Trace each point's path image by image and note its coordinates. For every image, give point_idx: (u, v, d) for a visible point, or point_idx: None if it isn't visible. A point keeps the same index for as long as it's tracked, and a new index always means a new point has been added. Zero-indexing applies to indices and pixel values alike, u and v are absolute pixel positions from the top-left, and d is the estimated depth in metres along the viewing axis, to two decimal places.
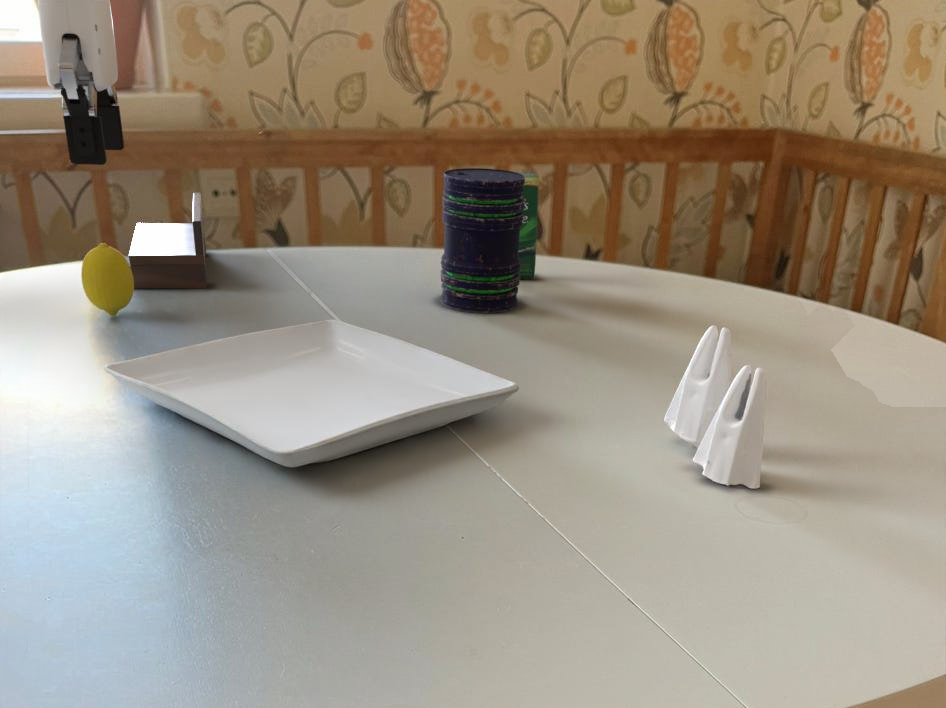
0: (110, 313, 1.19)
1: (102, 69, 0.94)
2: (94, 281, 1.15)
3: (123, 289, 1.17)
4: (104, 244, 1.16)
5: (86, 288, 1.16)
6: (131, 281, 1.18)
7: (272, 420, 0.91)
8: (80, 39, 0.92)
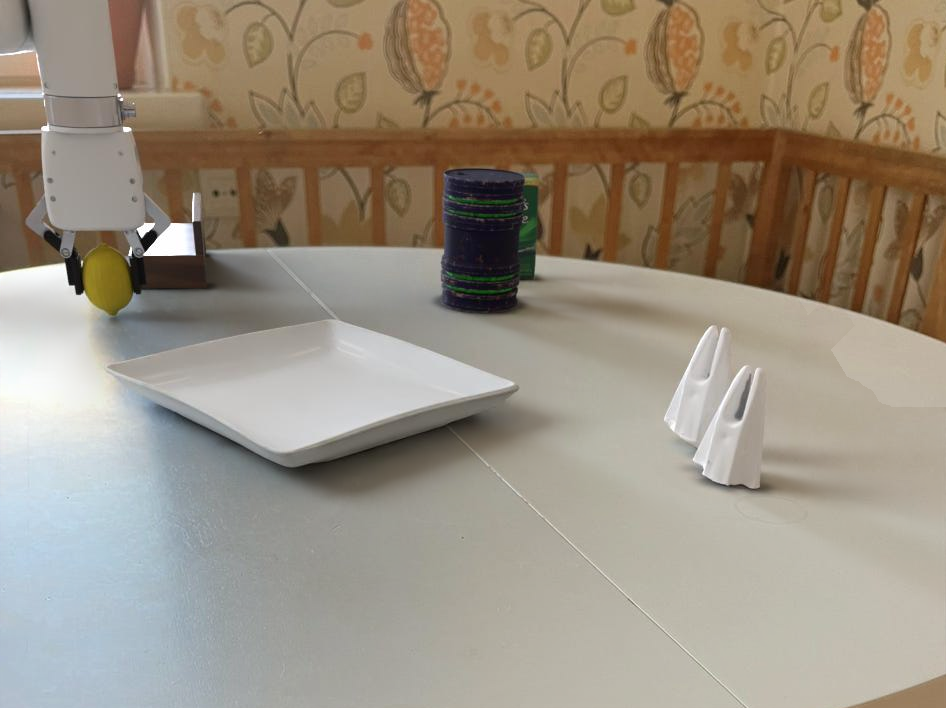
0: (110, 313, 1.19)
1: (59, 213, 1.11)
2: (94, 281, 1.15)
3: (123, 289, 1.17)
4: (104, 244, 1.16)
5: (86, 288, 1.16)
6: (131, 281, 1.18)
7: (272, 420, 0.91)
8: None
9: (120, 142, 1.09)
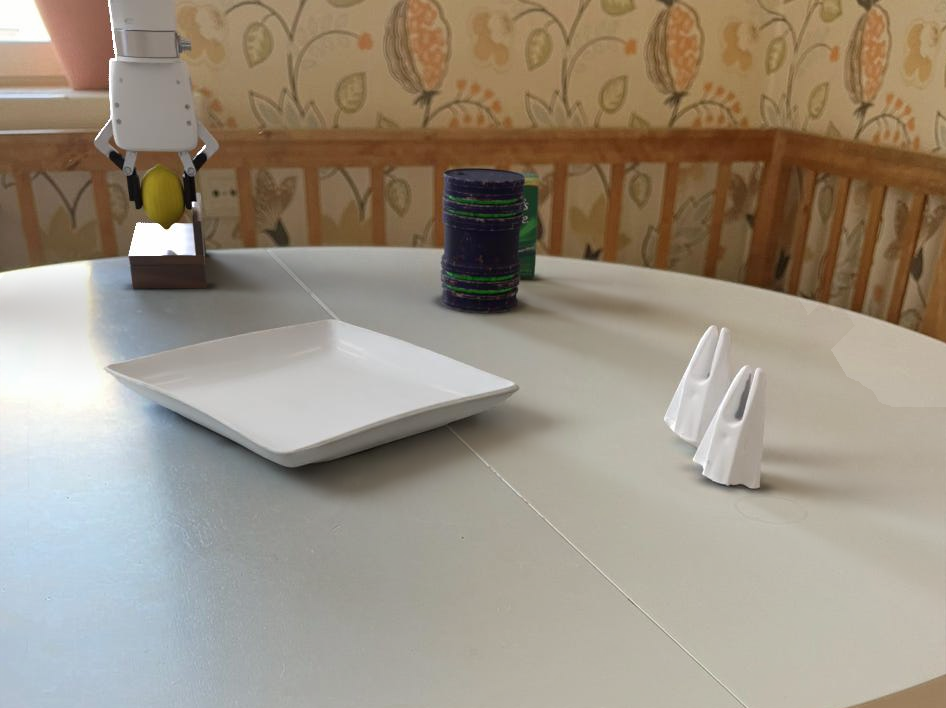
0: (164, 227, 1.36)
1: (124, 134, 1.28)
2: (152, 196, 1.32)
3: (177, 204, 1.33)
4: (161, 164, 1.32)
5: (145, 203, 1.33)
6: (184, 198, 1.34)
7: (272, 420, 0.91)
8: None
9: (178, 72, 1.26)
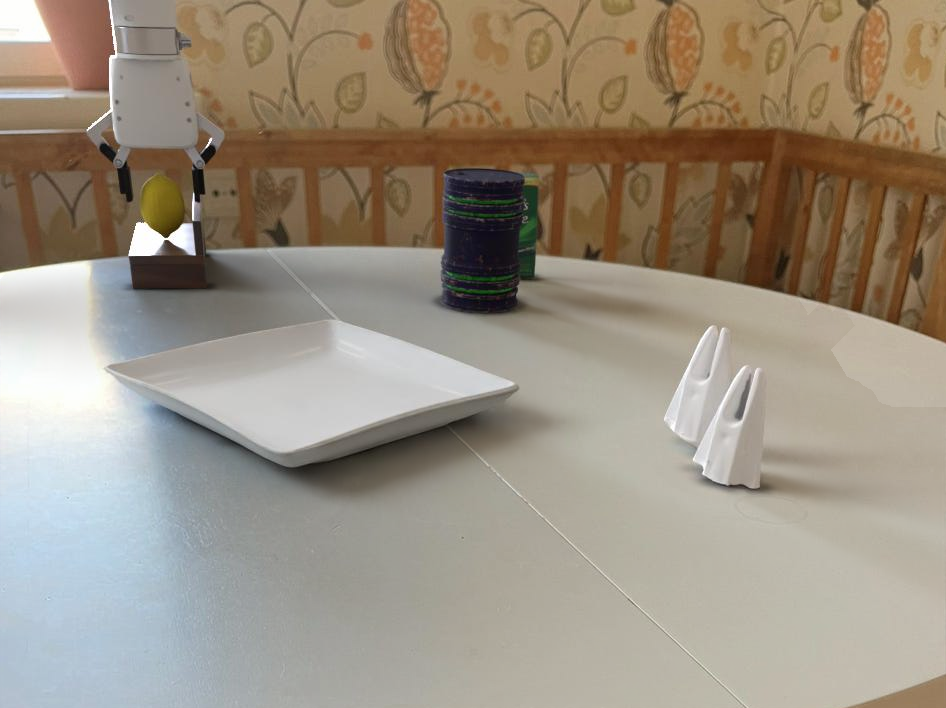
0: (164, 236, 1.36)
1: (124, 132, 1.28)
2: (152, 205, 1.33)
3: (176, 213, 1.34)
4: (160, 174, 1.33)
5: (144, 212, 1.34)
6: (183, 206, 1.35)
7: (272, 420, 0.91)
8: None
9: (178, 69, 1.26)
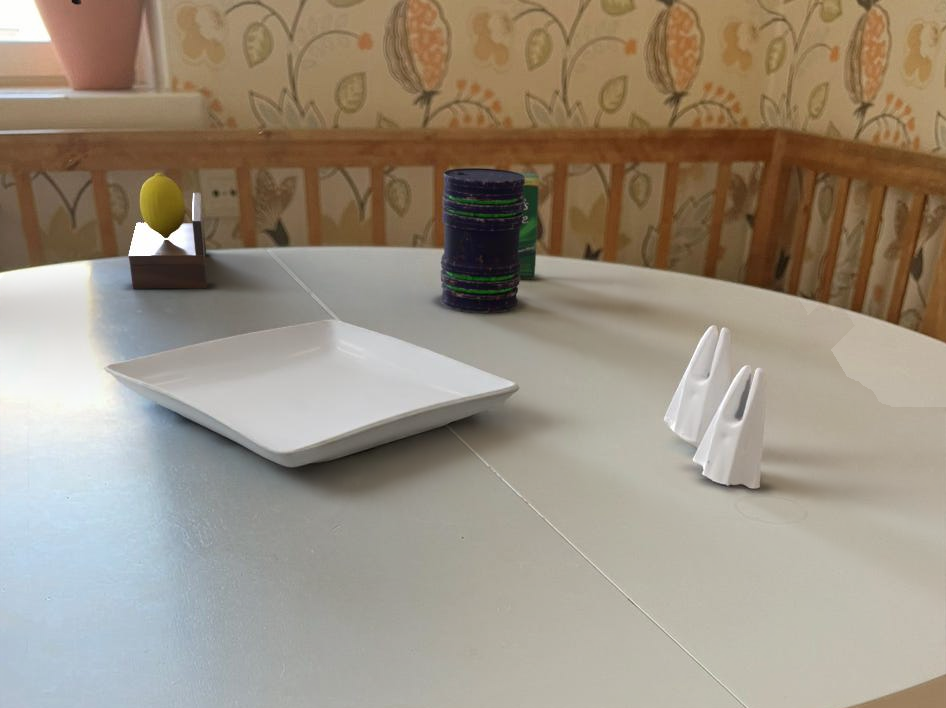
0: (164, 236, 1.36)
1: None
2: (152, 205, 1.33)
3: (176, 213, 1.34)
4: (160, 173, 1.33)
5: (144, 212, 1.34)
6: (183, 206, 1.35)
7: (272, 420, 0.91)
8: None
9: None
